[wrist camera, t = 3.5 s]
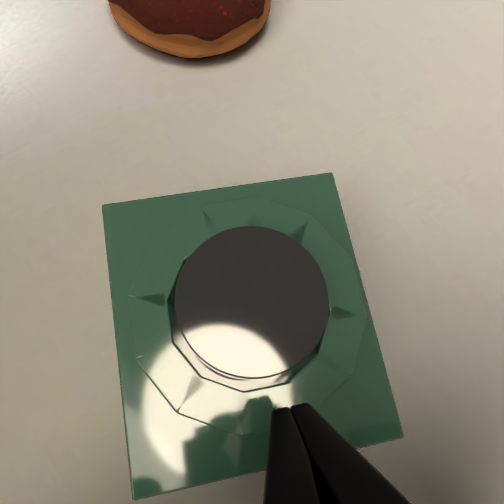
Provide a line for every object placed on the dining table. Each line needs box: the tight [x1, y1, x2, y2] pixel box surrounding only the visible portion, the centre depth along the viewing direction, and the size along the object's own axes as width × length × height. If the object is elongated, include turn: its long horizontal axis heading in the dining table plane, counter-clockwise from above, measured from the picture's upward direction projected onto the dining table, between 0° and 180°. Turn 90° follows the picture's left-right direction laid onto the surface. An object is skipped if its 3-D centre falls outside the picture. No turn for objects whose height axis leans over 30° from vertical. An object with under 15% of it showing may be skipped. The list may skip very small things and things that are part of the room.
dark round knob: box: [175, 226, 329, 380], centre depth 13 cm, size 4×4×2 cm
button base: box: [102, 173, 404, 500], centre depth 17 cm, size 10×9×8 cm
